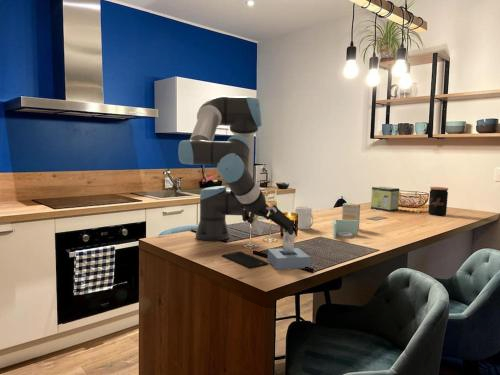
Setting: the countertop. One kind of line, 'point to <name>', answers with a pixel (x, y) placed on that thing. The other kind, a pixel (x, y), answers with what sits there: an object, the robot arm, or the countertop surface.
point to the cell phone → (245, 260)
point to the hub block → (288, 259)
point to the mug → (304, 217)
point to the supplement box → (351, 212)
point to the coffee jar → (438, 201)
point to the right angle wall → (345, 228)
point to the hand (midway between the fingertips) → (276, 235)
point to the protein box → (385, 199)
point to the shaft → (287, 245)
